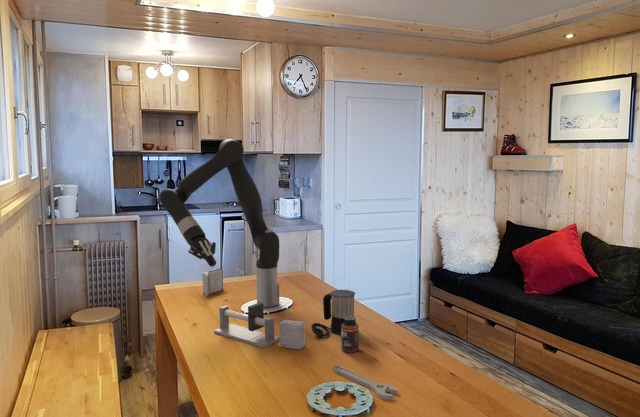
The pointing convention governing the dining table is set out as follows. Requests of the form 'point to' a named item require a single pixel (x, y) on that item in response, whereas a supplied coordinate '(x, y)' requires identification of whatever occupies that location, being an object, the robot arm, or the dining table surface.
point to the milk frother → (335, 311)
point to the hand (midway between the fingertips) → (213, 265)
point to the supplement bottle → (350, 335)
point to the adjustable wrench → (368, 383)
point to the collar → (255, 315)
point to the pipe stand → (243, 332)
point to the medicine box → (292, 334)
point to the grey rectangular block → (212, 281)
